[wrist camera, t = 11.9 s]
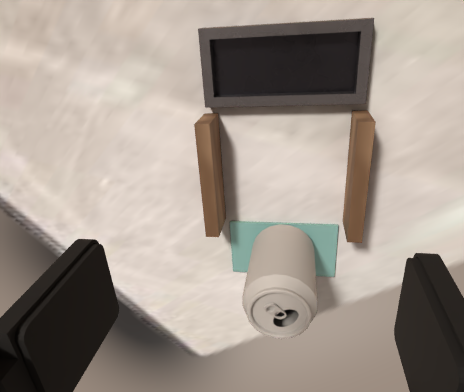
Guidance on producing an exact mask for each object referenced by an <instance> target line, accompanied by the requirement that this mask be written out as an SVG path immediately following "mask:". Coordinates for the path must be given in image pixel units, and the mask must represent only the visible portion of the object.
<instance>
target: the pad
mask: <svg viewBox="0 0 464 392" xmlns="http://www.w3.org/2000/svg"><path fill="white" fill-rule="evenodd" d="M279 224H280V225H290V226H293V227H296V228H299V229H300V230H302V231H303V232H305V233H306V234H307V235H308V237H309V238H310V239H311V241H312V243H313V247H314V253H315V269H316V276H327V277H334V274H335V261H336V249H337V236H338V225H336V224H304V223H272V222H241V221H230V234H231V248H232V262H233V271H237V272H248V267H249V262H250V257H251V252H252V247H253V243H254V241H255V238H256V237H257V235H258V234H259V233H260V232H261V231H262V230H264V229H266V228H268V227H270V226H274V225H279Z"/></svg>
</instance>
